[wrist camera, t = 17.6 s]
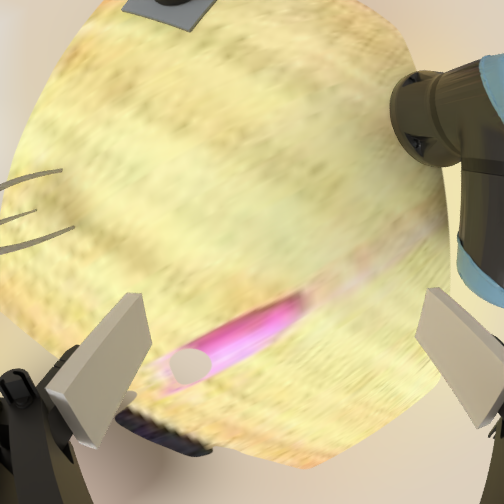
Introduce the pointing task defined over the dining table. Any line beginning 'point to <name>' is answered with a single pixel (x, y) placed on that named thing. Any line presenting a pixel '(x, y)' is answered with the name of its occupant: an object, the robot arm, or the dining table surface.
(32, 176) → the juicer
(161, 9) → the coaster mat
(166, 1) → the pen holder
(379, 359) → the dining table surface
